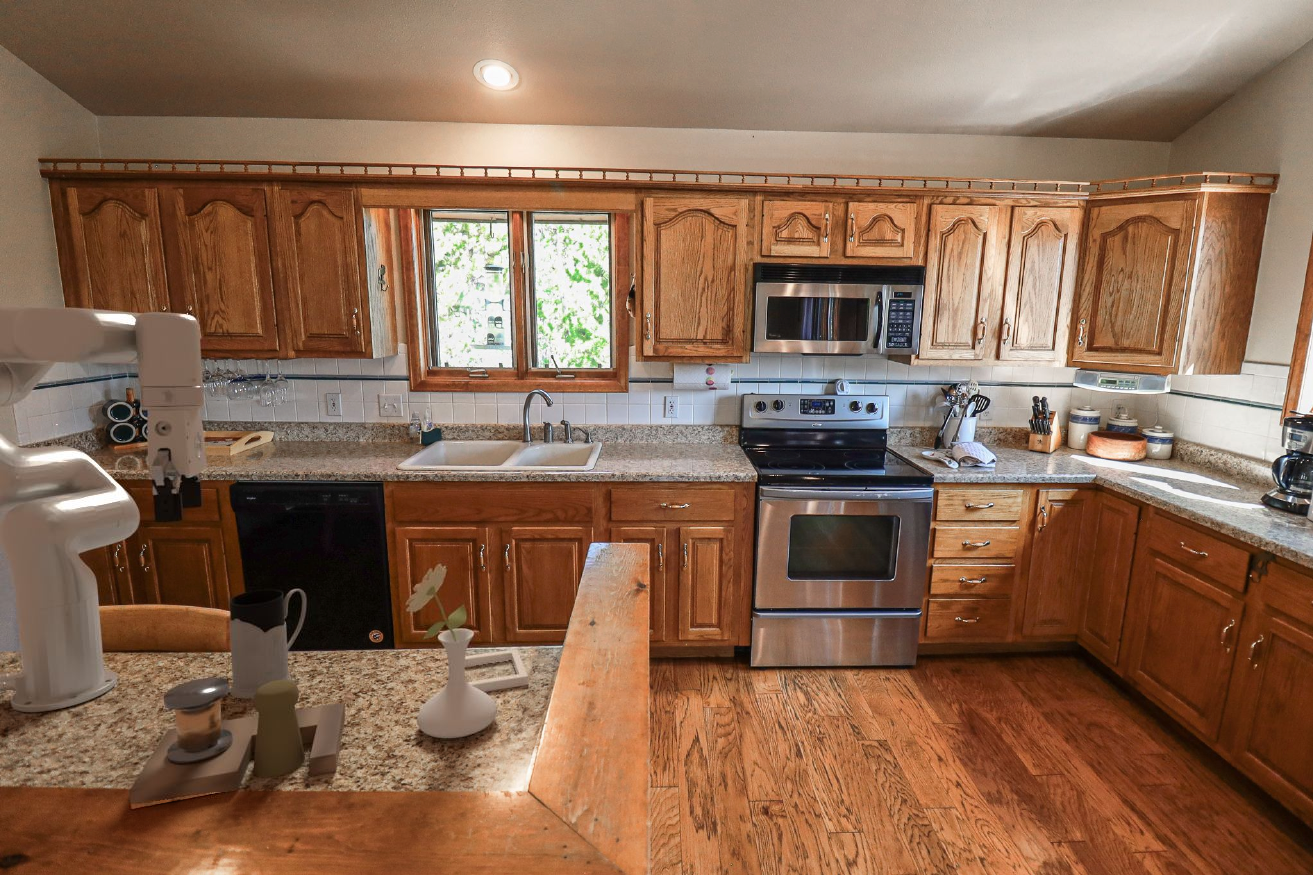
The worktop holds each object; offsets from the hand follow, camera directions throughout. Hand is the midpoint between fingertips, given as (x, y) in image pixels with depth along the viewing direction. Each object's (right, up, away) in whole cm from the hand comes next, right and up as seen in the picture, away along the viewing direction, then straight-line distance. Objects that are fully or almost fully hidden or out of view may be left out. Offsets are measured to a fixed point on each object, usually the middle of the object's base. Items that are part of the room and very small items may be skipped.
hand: (180, 514), depth 98 cm
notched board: (+16, -32, -10) cm, 37 cm away
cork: (+21, -32, -10) cm, 40 cm away
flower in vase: (+41, -31, -1) cm, 52 cm away
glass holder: (+6, -29, +13) cm, 33 cm away
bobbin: (+11, -29, -12) cm, 34 cm away
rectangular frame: (+42, -29, +15) cm, 54 cm away
